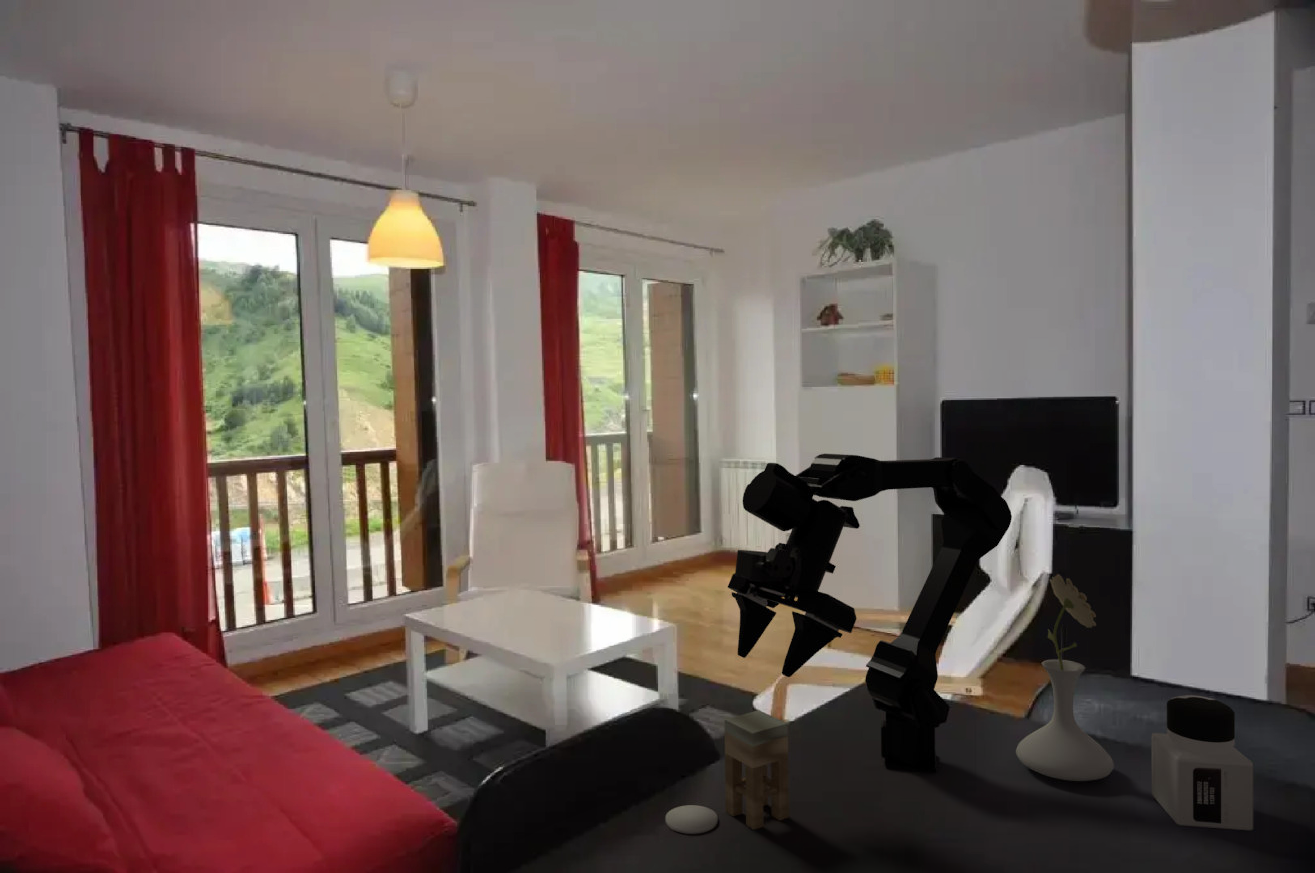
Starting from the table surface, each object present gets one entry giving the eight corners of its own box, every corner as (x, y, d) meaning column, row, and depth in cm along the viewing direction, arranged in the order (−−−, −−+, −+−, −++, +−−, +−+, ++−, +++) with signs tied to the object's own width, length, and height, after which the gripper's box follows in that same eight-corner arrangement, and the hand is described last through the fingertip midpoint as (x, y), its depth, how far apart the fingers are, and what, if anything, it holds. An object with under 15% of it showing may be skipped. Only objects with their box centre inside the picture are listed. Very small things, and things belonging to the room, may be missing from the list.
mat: (722, 812, 98) (722, 808, 98) (710, 836, 92) (710, 833, 92) (673, 805, 100) (673, 802, 100) (659, 829, 94) (659, 826, 94)
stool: (760, 799, 101) (758, 710, 100) (788, 817, 96) (787, 723, 96) (725, 811, 98) (724, 719, 98) (753, 829, 94) (752, 733, 93)
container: (1254, 832, 91) (1254, 714, 91) (1176, 826, 93) (1176, 710, 92) (1221, 799, 99) (1221, 691, 98) (1150, 794, 100) (1150, 688, 100)
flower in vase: (1121, 796, 100) (1121, 590, 100) (1018, 783, 104) (1017, 584, 103) (1104, 754, 112) (1103, 570, 112) (1012, 744, 116) (1011, 566, 116)
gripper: (721, 512, 108) (672, 625, 105) (811, 528, 91) (757, 662, 88) (782, 547, 113) (738, 655, 109) (879, 567, 96) (830, 696, 93)
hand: (762, 665), depth 100 cm, fingers open, 9 cm apart
